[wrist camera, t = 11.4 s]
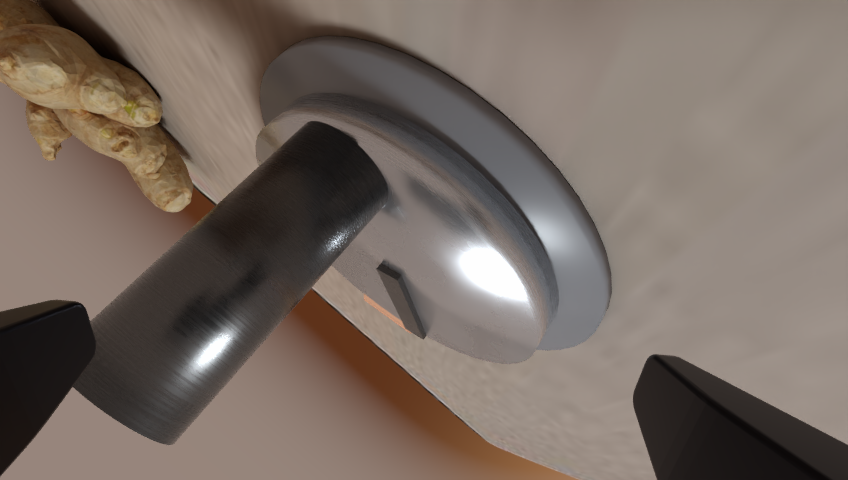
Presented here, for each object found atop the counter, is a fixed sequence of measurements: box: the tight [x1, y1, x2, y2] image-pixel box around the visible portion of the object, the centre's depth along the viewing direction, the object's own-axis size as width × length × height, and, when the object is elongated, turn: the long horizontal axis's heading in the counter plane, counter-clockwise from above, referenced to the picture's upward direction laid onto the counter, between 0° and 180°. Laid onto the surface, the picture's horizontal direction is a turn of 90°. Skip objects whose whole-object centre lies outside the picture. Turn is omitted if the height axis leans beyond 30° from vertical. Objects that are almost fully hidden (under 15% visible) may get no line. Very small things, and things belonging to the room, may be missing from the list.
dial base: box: [260, 36, 612, 350], centre depth 21 cm, size 17×18×2 cm
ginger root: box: [0, 0, 193, 212], centre depth 31 cm, size 16×16×8 cm
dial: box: [73, 93, 559, 445], centre depth 18 cm, size 14×14×11 cm
